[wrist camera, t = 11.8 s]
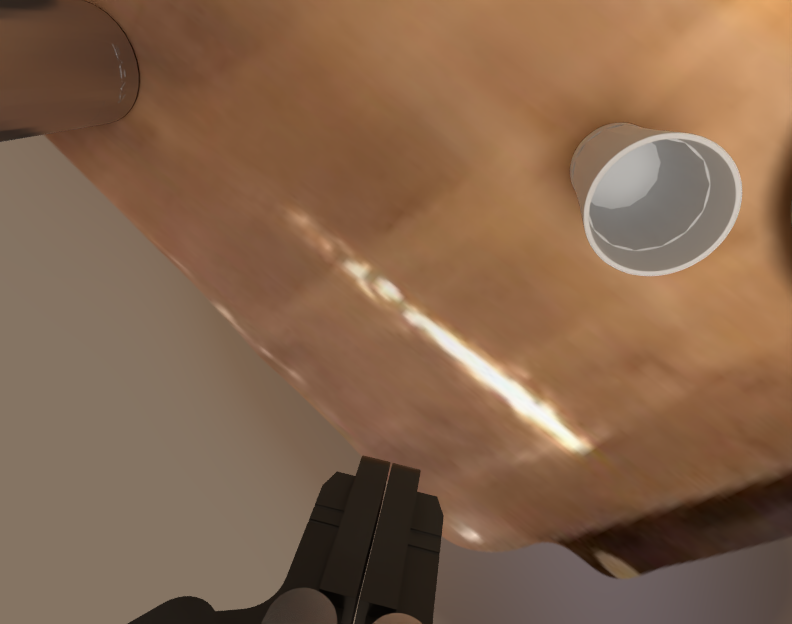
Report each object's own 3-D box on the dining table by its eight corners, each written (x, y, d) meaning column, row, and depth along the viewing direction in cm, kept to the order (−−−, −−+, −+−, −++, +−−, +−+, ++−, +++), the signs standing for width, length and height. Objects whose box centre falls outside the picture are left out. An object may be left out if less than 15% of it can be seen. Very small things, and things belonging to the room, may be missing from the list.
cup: (536, 167, 39) (553, 208, 28) (626, 85, 36) (682, 97, 25) (602, 238, 41) (641, 301, 30) (694, 166, 37) (774, 210, 27)
